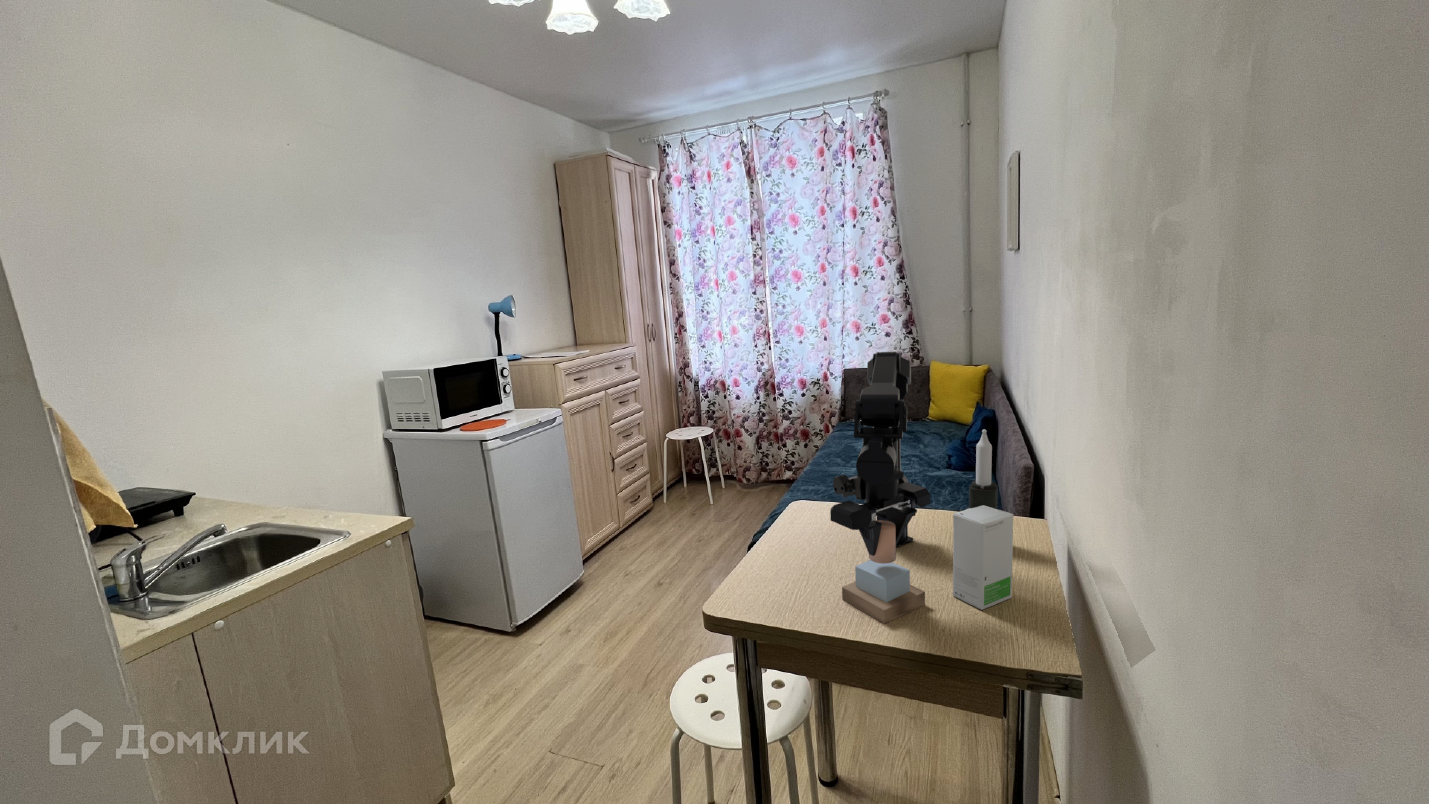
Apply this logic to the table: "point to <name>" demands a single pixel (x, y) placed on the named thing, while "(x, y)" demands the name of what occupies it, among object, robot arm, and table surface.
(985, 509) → the skincare box
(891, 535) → the peach rounded capsule
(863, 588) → the block
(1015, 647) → the table surface
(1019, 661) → the table surface
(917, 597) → the base slab
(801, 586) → the table surface
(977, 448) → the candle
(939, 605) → the table surface
